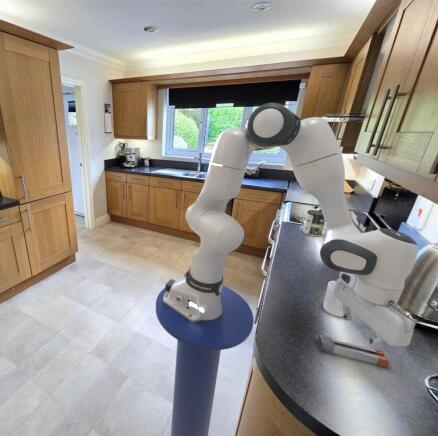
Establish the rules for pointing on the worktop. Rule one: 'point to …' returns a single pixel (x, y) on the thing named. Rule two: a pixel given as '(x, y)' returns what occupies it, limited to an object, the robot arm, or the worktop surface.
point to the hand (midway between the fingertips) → (359, 331)
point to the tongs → (352, 351)
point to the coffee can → (314, 223)
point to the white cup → (332, 301)
